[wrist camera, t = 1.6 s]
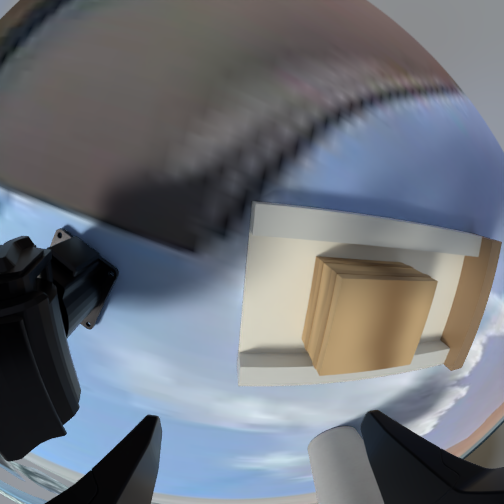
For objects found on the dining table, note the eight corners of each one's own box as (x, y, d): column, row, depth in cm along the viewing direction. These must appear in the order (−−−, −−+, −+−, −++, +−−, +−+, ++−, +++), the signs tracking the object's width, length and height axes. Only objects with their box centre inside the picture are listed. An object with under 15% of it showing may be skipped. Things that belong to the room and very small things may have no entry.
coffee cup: (327, 412, 25) (375, 524, 11) (381, 421, 27) (432, 505, 12) (280, 458, 27) (303, 557, 12) (336, 463, 29) (368, 543, 14)
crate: (300, 339, 22) (318, 376, 17) (315, 255, 20) (341, 277, 15) (382, 335, 23) (410, 364, 18) (401, 261, 21) (438, 280, 16)
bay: (236, 367, 22) (239, 398, 19) (252, 201, 19) (258, 205, 15) (442, 350, 25) (461, 367, 21) (475, 234, 22) (501, 242, 18)
